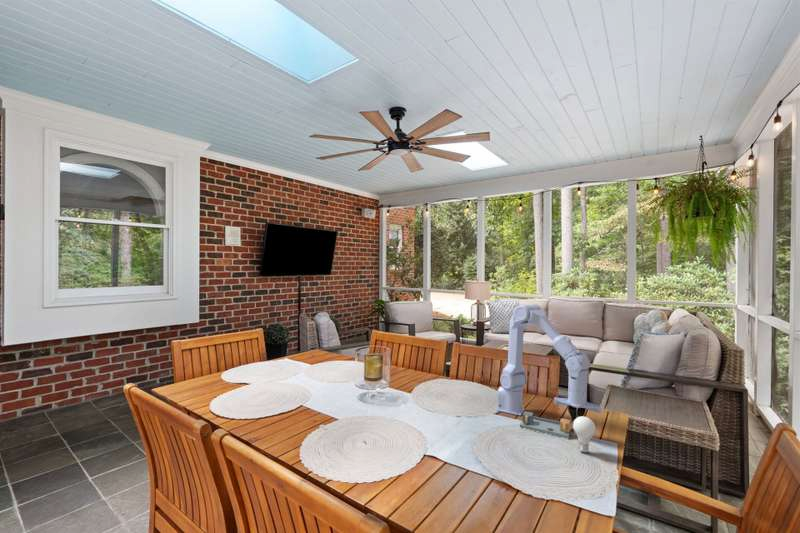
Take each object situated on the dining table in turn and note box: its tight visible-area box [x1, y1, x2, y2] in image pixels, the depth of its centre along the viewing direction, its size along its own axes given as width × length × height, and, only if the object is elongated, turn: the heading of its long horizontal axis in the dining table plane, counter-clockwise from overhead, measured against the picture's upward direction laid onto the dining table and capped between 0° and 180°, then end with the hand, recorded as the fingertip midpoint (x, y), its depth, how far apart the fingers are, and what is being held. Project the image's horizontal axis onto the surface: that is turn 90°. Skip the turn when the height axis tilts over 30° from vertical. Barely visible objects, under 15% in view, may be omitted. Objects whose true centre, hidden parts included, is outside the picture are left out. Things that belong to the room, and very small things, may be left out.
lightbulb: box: [572, 415, 597, 454], centre depth 114 cm, size 6×6×11 cm
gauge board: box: [519, 410, 573, 440], centre depth 131 cm, size 16×10×4 cm, turn 60°
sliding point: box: [559, 418, 572, 433], centre depth 126 cm, size 3×5×3 cm, turn 150°
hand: (576, 428), depth 125 cm, fingers closed
